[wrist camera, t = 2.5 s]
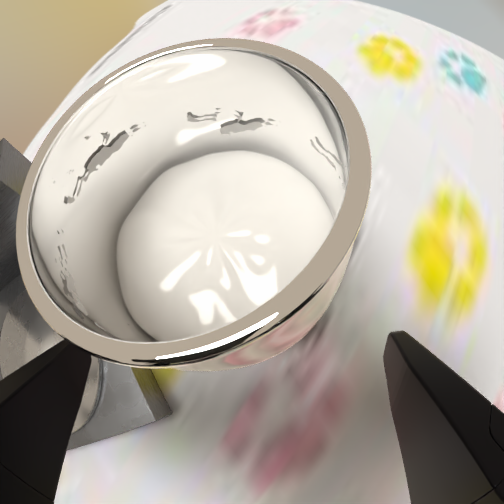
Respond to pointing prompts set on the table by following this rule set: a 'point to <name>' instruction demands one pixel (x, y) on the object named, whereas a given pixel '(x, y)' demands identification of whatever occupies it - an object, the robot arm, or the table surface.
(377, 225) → the table surface
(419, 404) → the robot arm
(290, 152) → the silver metal cup
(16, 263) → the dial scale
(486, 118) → the table surface
